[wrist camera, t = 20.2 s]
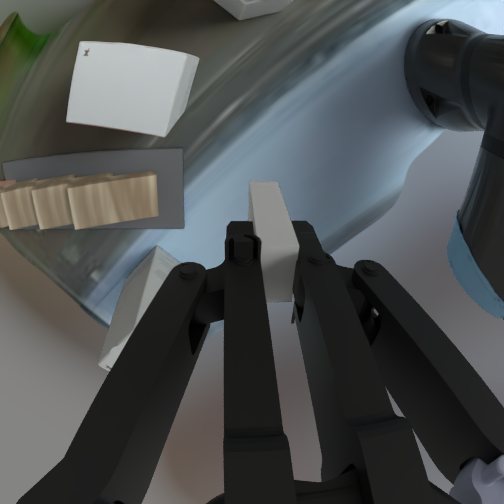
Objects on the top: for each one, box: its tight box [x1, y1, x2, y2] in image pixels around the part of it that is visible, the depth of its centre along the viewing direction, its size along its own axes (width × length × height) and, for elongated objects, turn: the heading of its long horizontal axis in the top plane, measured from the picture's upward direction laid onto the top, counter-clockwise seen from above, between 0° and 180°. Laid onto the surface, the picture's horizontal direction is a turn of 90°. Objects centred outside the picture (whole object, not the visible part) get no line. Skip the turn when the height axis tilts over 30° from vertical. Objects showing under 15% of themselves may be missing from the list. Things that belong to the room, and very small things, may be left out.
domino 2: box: [1, 174, 76, 230], centre depth 31 cm, size 2×5×10 cm
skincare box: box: [98, 246, 181, 372], centre depth 36 cm, size 8×7×16 cm
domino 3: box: [32, 172, 114, 230], centre depth 32 cm, size 2×5×10 cm
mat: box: [2, 148, 184, 230], centre depth 34 cm, size 25×10×1 cm, turn 86°
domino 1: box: [0, 178, 39, 228], centre depth 30 cm, size 2×5×10 cm
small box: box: [66, 41, 199, 138], centre depth 23 cm, size 8×6×13 cm
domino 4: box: [67, 171, 159, 230], centre depth 32 cm, size 2×5×10 cm
